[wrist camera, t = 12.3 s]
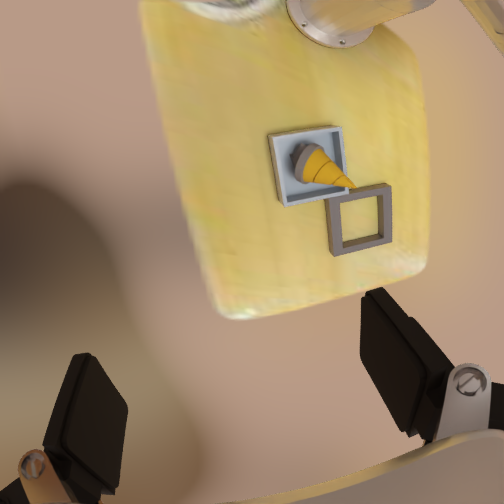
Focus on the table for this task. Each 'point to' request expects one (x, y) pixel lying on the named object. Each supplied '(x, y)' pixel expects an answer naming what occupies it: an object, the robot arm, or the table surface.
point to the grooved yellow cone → (317, 167)
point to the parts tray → (284, 169)
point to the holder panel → (383, 237)
